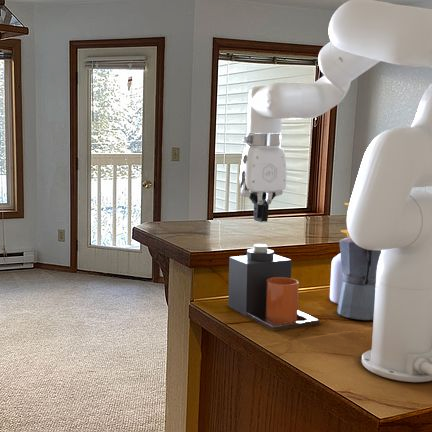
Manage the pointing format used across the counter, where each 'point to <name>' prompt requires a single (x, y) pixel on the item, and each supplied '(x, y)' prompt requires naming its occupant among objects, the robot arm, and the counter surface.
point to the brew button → (260, 248)
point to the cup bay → (274, 326)
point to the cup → (282, 299)
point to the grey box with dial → (254, 279)
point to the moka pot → (357, 280)
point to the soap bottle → (337, 275)
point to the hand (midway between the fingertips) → (260, 220)
